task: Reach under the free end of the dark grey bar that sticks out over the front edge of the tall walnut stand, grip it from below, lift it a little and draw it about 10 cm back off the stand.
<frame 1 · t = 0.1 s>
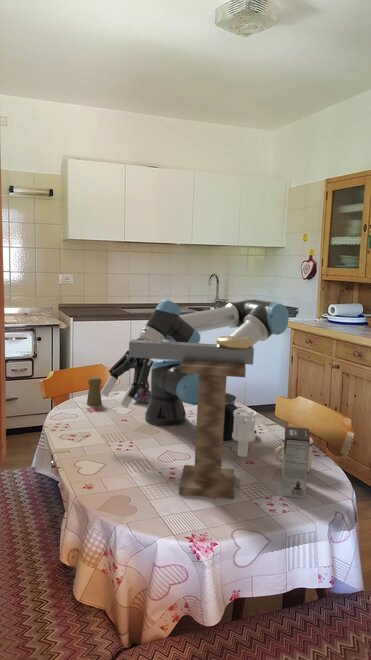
hand: (112, 400, 158), 15 cm above the table, tool tilted 35°, fingers open, 13 cm apart
strainer: (242, 455, 157), on the table
pink and grey figurine: (143, 401, 211), on the table
walnut stand: (207, 484, 136), on the table
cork: (94, 404, 204), on the table
dark grey bar: (213, 360, 131), point 34 cm above the table, touching walnut stand
coffee box: (292, 490, 135), on the table
milk frother: (230, 438, 173), on the table, touching arm
teacup with lid: (291, 469, 148), on the table
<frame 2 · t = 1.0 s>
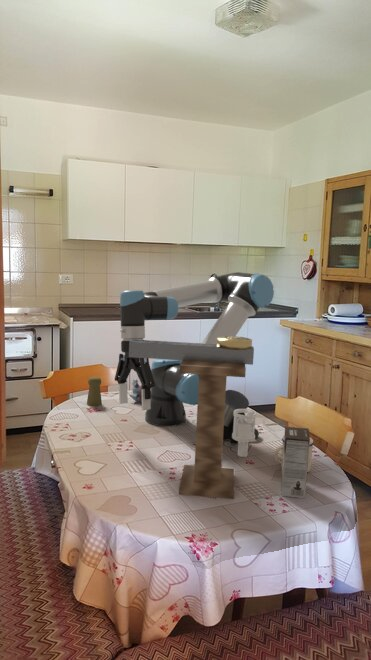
hand: (134, 406, 160), 13 cm above the table, tool pointing down, fingers open, 13 cm apart
milk frother: (231, 433, 173), point 1 cm above the table
everything else where it was.
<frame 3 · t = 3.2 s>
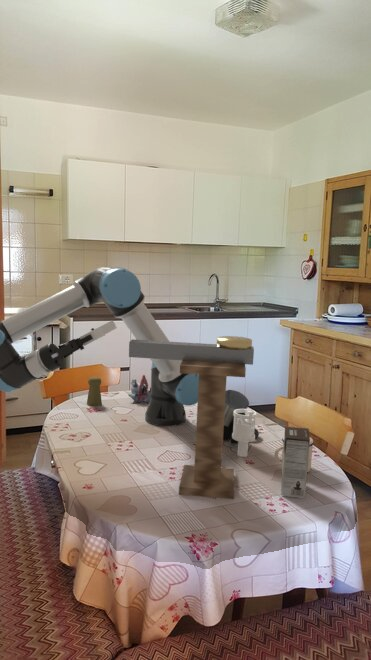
hand: (109, 327, 142), 40 cm above the table, tool pointing upward, fingers open, 13 cm apart
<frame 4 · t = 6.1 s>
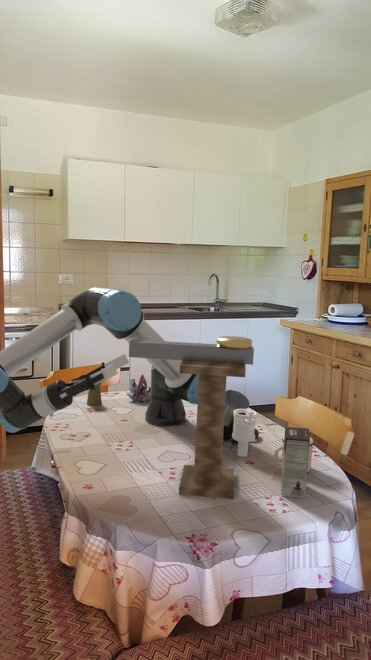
hand: (121, 363, 133), 32 cm above the table, tool pointing upward, fingers open, 13 cm apart
strainer: (242, 455, 157), on the table, touching milk frother
milk frother: (232, 433, 173), point 1 cm above the table, touching strainer
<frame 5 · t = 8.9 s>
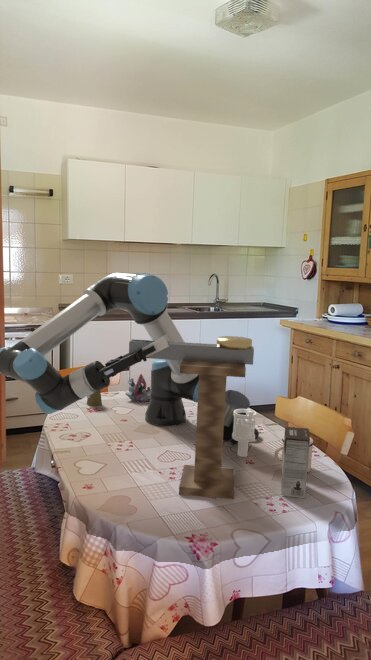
hand: (167, 340, 131), 39 cm above the table, tool pointing upward, fingers closed on dark grey bar, 4 cm apart
dark grey bar: (213, 360, 131), point 34 cm above the table, touching gripper, walnut stand
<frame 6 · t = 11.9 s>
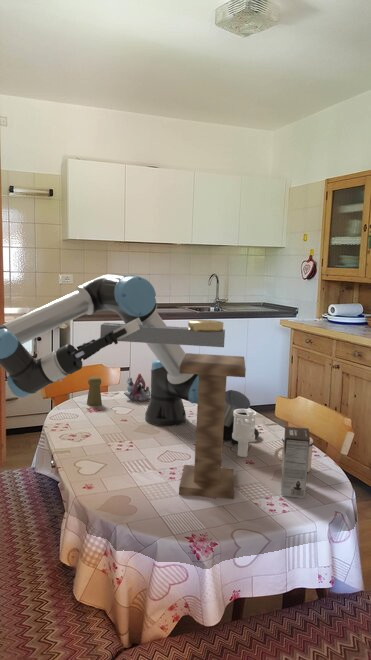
hand: (139, 323, 131), 43 cm above the table, tool pointing upward, fingers closed on dark grey bar, 4 cm apart
dark grey bar: (185, 343, 131), point 38 cm above the table, touching gripper
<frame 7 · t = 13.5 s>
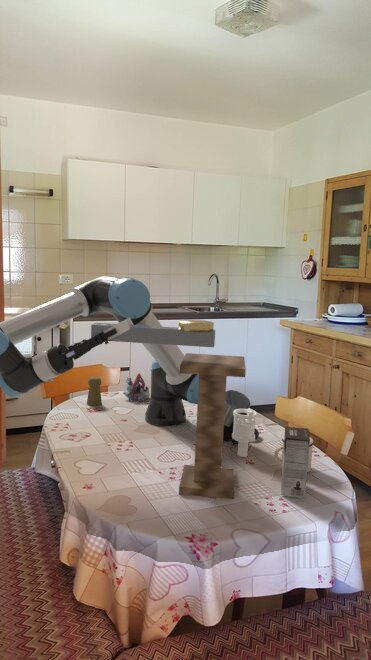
hand: (129, 323, 131), 43 cm above the table, tool pointing upward, fingers closed on dark grey bar, 4 cm apart
strainer: (242, 455, 157), on the table
dark grey bar: (175, 343, 131), point 38 cm above the table, touching gripper
milk frother: (232, 433, 173), point 1 cm above the table
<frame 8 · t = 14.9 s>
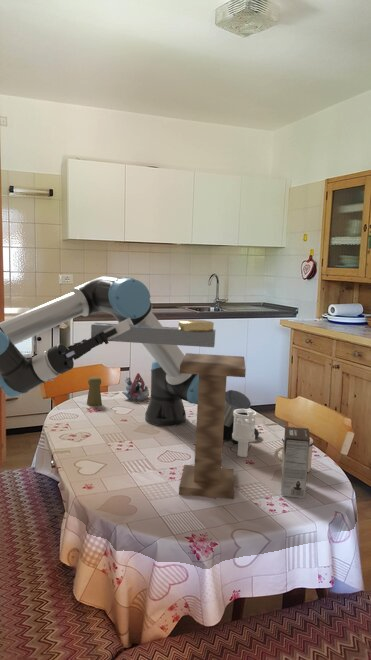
hand: (129, 323, 131), 43 cm above the table, tool pointing upward, fingers closed on dark grey bar, 4 cm apart
dark grey bar: (175, 343, 131), point 38 cm above the table, touching gripper
at the end: the gripper is holding dark grey bar; dark grey bar moved 10.8 cm from its start; dark grey bar touching gripper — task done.
